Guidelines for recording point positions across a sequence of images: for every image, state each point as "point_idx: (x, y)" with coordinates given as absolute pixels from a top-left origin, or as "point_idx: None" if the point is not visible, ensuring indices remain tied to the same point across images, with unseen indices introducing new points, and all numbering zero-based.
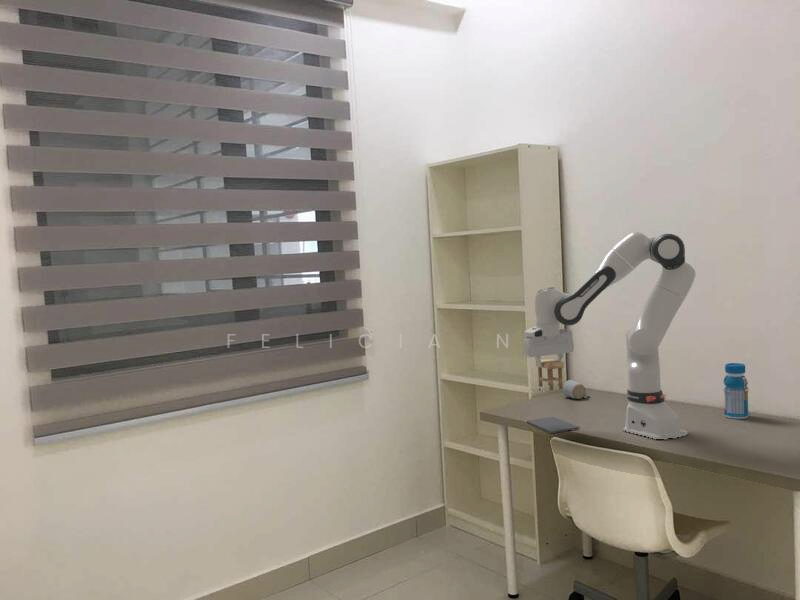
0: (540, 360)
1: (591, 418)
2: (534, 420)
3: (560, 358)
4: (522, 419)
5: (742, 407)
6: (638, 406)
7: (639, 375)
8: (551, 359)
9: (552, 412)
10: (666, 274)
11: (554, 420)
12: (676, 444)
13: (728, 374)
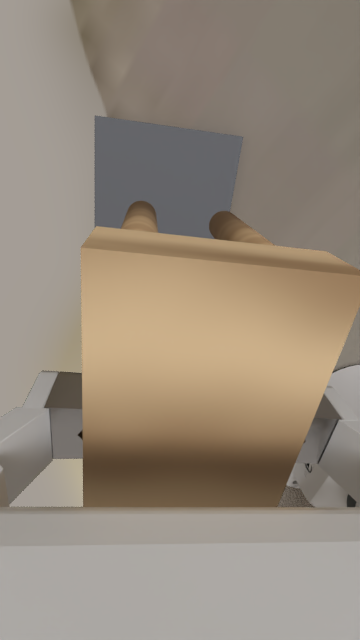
0: (148, 306)
1: (347, 239)
2: (129, 139)
3: (347, 492)
4: (110, 35)
5: None
6: (339, 489)
7: None
8: (335, 345)
9: (325, 14)
10: None
11: (201, 200)
12: (279, 504)
13: None
